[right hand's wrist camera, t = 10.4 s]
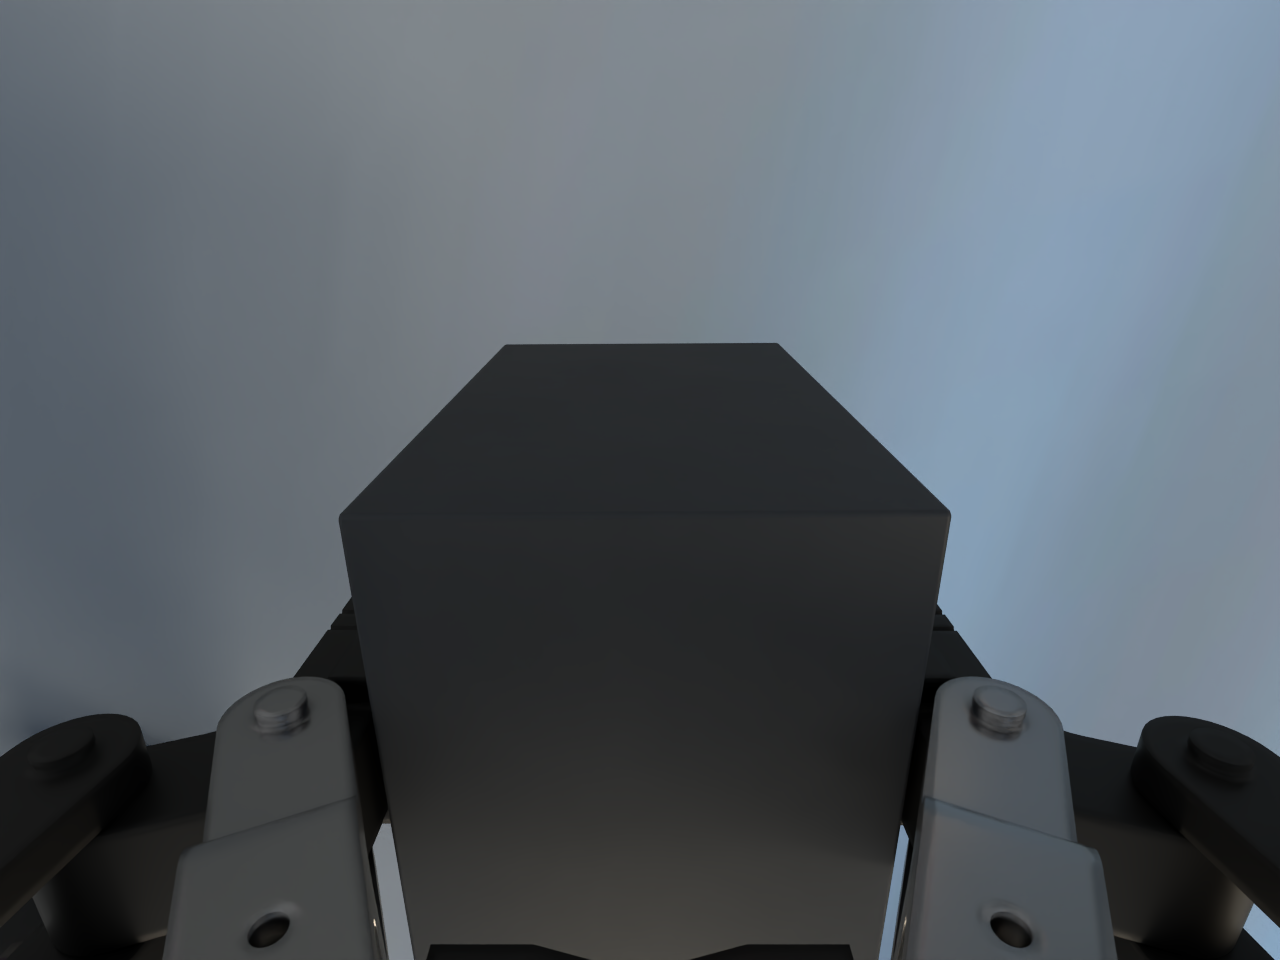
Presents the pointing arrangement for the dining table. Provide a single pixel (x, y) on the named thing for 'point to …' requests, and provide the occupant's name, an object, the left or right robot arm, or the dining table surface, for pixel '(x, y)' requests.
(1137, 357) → the dining table surface
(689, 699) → the box
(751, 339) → the dining table surface
